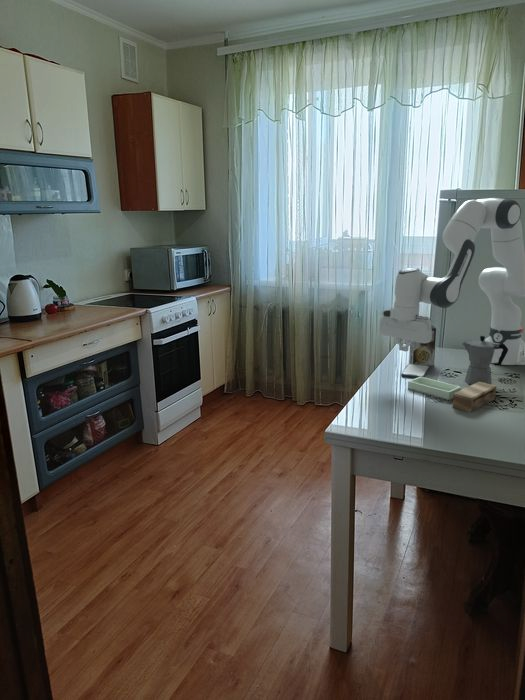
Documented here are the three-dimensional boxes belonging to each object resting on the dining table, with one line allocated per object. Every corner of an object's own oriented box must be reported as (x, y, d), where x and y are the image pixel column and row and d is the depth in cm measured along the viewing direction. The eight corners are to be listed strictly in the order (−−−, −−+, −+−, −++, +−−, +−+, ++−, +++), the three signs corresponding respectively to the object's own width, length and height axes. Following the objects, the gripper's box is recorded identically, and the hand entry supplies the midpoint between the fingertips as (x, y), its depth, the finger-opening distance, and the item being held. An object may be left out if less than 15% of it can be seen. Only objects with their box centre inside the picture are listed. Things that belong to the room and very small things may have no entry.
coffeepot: (458, 384, 188) (462, 337, 184) (459, 377, 196) (463, 331, 192) (504, 389, 182) (509, 340, 177) (504, 381, 190) (509, 334, 186)
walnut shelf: (477, 394, 178) (479, 381, 177) (494, 399, 173) (496, 385, 172) (452, 407, 167) (453, 393, 166) (470, 412, 163) (471, 398, 161)
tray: (419, 384, 190) (420, 376, 189) (460, 394, 178) (461, 386, 177) (407, 389, 184) (408, 381, 184) (448, 400, 173) (449, 392, 172)
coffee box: (429, 361, 217) (432, 324, 213) (434, 366, 211) (437, 327, 207) (408, 361, 217) (410, 324, 213) (412, 366, 211) (414, 328, 207)
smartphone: (407, 367, 212) (400, 377, 198) (408, 363, 212) (400, 373, 198) (430, 369, 208) (423, 380, 194) (430, 366, 208) (424, 376, 194)
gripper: (437, 316, 178) (433, 354, 182) (387, 308, 193) (385, 344, 196) (427, 318, 174) (424, 357, 178) (377, 310, 189) (375, 347, 192)
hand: (403, 350), depth 187 cm, fingers closed
